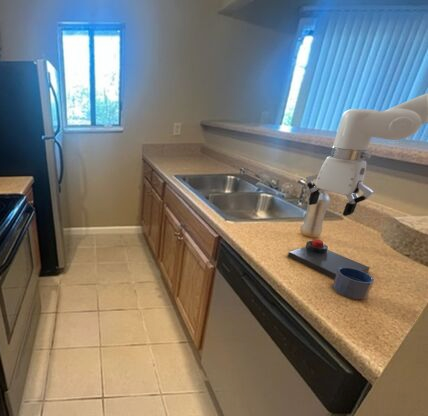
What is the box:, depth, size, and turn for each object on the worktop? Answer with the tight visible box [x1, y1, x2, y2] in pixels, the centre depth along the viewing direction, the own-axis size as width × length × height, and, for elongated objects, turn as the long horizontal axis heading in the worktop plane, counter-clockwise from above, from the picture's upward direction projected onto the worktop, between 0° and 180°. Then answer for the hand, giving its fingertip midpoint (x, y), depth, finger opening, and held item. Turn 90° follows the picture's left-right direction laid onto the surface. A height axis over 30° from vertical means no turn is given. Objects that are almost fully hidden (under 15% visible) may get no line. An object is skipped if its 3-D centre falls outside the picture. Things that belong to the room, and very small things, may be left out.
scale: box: [287, 240, 370, 280], centre depth 87 cm, size 16×13×4 cm
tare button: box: [312, 238, 324, 247], centre depth 92 cm, size 3×3×2 cm
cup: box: [332, 267, 374, 300], centre depth 74 cm, size 7×7×6 cm
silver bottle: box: [300, 189, 331, 238], centre depth 103 cm, size 6×7×20 cm
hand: (328, 209), depth 85 cm, fingers open, 9 cm apart
